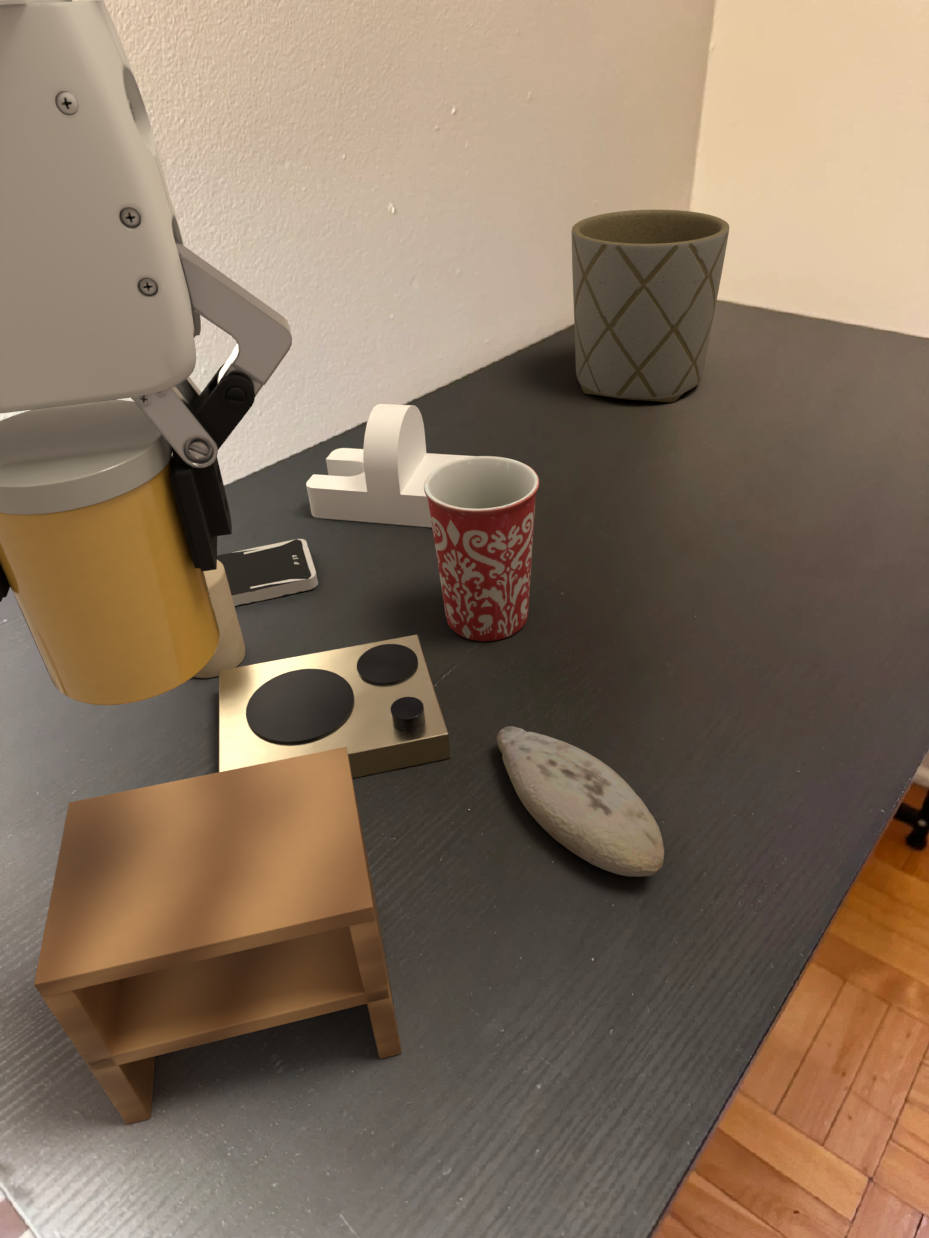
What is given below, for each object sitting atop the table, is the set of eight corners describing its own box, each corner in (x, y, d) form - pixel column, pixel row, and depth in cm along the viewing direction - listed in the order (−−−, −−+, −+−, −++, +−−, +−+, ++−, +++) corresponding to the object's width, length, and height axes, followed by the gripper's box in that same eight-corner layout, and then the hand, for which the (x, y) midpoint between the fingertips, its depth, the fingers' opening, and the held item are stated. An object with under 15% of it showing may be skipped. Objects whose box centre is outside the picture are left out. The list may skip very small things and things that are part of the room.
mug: (508, 661, 69) (504, 519, 61) (416, 631, 73) (401, 493, 65) (573, 584, 78) (577, 450, 70) (487, 560, 82) (482, 431, 74)
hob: (226, 804, 59) (214, 767, 56) (225, 693, 68) (215, 658, 66) (450, 758, 61) (447, 721, 59) (420, 657, 70) (416, 622, 68)
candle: (167, 673, 70) (133, 574, 64) (202, 634, 75) (173, 537, 69) (225, 683, 69) (195, 583, 63) (258, 643, 73) (232, 545, 67)
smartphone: (151, 569, 81) (305, 537, 84) (155, 580, 82) (307, 548, 85) (152, 612, 75) (317, 577, 79) (156, 624, 76) (319, 588, 79)
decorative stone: (532, 728, 63) (532, 694, 61) (694, 860, 53) (700, 825, 51) (467, 767, 60) (465, 733, 58) (625, 914, 50) (628, 879, 48)
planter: (590, 353, 126) (595, 207, 114) (720, 364, 119) (740, 211, 108) (550, 401, 112) (551, 241, 100) (695, 417, 106) (715, 248, 94)
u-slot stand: (470, 530, 86) (465, 432, 80) (308, 517, 90) (290, 422, 84) (491, 486, 94) (487, 393, 87) (339, 476, 98) (326, 386, 91)
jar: (33, 722, 30) (-74, 499, 25) (61, 615, 35) (-22, 411, 30) (222, 689, 31) (159, 469, 26) (223, 590, 36) (170, 389, 31)
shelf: (126, 1125, 42) (33, 984, 34) (141, 948, 50) (68, 801, 42) (402, 1053, 44) (373, 906, 36) (374, 895, 52) (346, 746, 44)
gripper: (253, -68, 24) (334, 486, 35) (-433, -43, 22) (-117, 549, 32) (261, -88, 18) (356, 586, 29) (-681, -58, 16) (-193, 672, 26)
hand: (106, 562), depth 31 cm, fingers closed on jar, 6 cm apart
